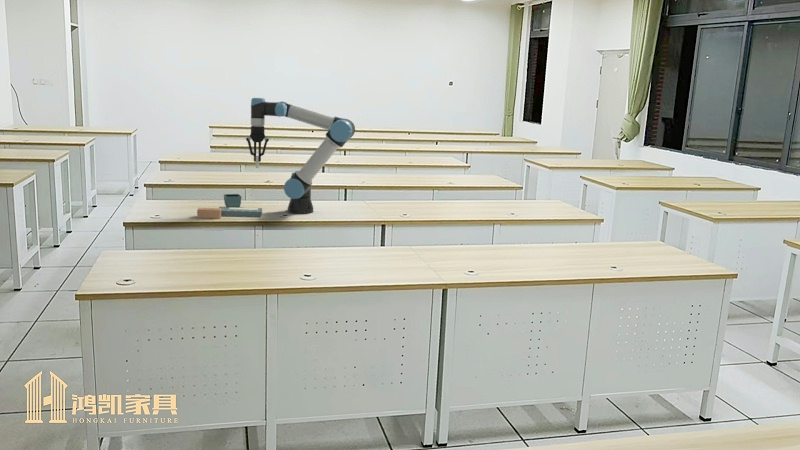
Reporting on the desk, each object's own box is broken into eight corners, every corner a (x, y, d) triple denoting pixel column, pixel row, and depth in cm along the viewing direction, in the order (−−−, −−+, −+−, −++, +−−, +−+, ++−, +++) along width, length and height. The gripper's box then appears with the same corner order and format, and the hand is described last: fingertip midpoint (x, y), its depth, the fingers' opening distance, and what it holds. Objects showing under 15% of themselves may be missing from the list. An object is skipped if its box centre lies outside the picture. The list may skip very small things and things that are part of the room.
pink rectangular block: (221, 216, 374) (221, 207, 373) (219, 218, 368) (219, 209, 367) (198, 215, 372) (198, 207, 371) (197, 217, 366) (197, 209, 365)
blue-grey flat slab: (262, 213, 388) (262, 207, 388) (260, 217, 378) (261, 211, 377) (219, 212, 385) (219, 206, 384) (216, 215, 374) (216, 210, 373)
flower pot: (223, 209, 393) (223, 194, 391) (238, 208, 397) (238, 193, 395) (226, 212, 385) (226, 196, 384) (241, 211, 389) (241, 196, 387)
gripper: (269, 125, 382) (269, 167, 387) (246, 124, 380) (246, 166, 385) (269, 126, 375) (268, 168, 380) (245, 125, 373) (244, 168, 378)
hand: (257, 167), depth 382 cm, fingers closed
